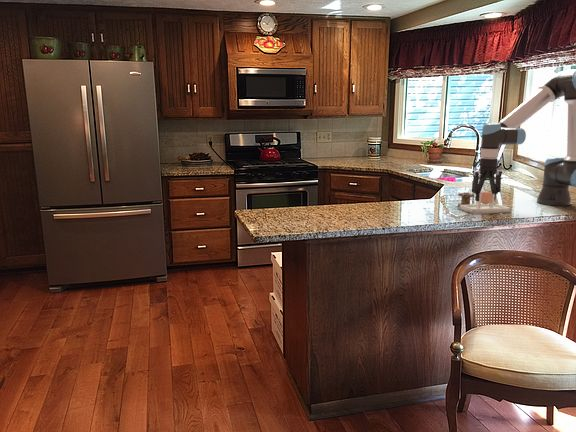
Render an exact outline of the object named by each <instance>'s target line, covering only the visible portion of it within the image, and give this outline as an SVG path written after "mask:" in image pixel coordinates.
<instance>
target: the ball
mask: <svg viewBox="0 0 576 432" xmlns="http://www.w3.org/2000/svg"><path fill="white" fill-rule="evenodd" d="M491 193H492V192H490V191H485V190H484V191H481V193H480V194H481V195H482V197H481V204H489V203H490V202H491V201H492V195H491Z"/></svg>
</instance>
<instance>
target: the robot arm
mask: <svg viewBox="0 0 576 432" xmlns="http://www.w3.org/2000/svg"><path fill="white" fill-rule="evenodd" d="M561 97H564V98H563V99H564V102H566V104H567V136H566V137H567V144H566V145H567V146H566V147H567V148H566V155H565V157H549V158H547V159H546V160H545V161H544V165H543V167H544V169H543V176H542V177H543V179H542V187H541V189H540V191H539V195H538V196H537V198H536V203H538V204H542V205H547V206H554V207H555V206H557V207H558V206H559V207H560V206H561V207H562V206H563V207H565V206H571V204H572V199H571V195H570V189H569V187H570V186H571V187H573V188H576V68H574V69H566V70H562V71H560V72H558V73H556V74H554V75H553V76H552V77H550V78H549V79H548V80H546V81H545V82H543V83H542V84H541V85H539V86H538V90H537V91H536V92H534V93H533V94H532V95H531V96H530V97H528V98H527V99H526V100H524V101H523V102H522V103H521V104H520V105H519V106H517V107H516V108H515V109H514V110H512V111H511V112H510V113H509V114H508V115H506V116H505V117H503V118H502V119H501V120H500V121H499V122H498V123H484V124H483V126H482V131H481V144H480V154H479V155H480V159H479V169H478V170H476V171H475V170H474V171H473V172H472V176H473V178H472V184H471V185H472V186H471V193H472V194H474V200H475V201H476V202H475V201H474V202H475V204H476V208H481V204H482V203H481V197H482V195H481V194H480V193H482V190H483V187H484V184H485V181H486V180H487V179H488V182H489V187H490V191H491V192H490V193H491V195H492V201H491V202H490V203H489V207H490V208H494V203H495V201H496V199H497V195H498V193H501V191H502V190H501V186H502V185H501V184H502V175H503V171H502V170H498V169H497V167H498V161H499V160H498V157H499V150H500V149H499V148H500V145H501V146H502V145H503V146H505V145H506V146H508V145H511V146H518V145H522V144H524V142H525V141H526V140H527V139H526V137H527V134H526V133H527V132H526V130H525V129H524V128H521V127H520V126H521V125H522V124H524V123H525V122H526V121H528V119H529V118H531V117H532V116H533V115H535V114H537V112H539V111H540V110H541V109H543V107H545V106H546V105H547V104H549V103H552V102H555V101H556V100H557V99H559V98H561Z"/></svg>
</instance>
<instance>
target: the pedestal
mask: <svg viewBox="0 0 576 432" xmlns="http://www.w3.org/2000/svg"><path fill="white" fill-rule="evenodd" d="M457 196H459V197H461V199H460V200H461V201H460V203H459V202H458V203H457V207H459V205H466V204H471V198H475V193H472V192H458V195H457Z"/></svg>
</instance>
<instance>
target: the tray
mask: <svg viewBox="0 0 576 432" xmlns="http://www.w3.org/2000/svg"><path fill="white" fill-rule="evenodd" d="M458 209H459V210H461V211H464V212H465V213H469V214H473V215H478V214H479V215H480V214H481V215H482V214H500V213H503V214H504V213H505V214H506V213H511V212H512V208H511V207H509V206H507V205H506V206H505V205H502V204H498V203H495V202H494V208H490V207H489V204H482V203H481V208H476V203H473V204H472V203H470V204H466V205H459V206H458Z"/></svg>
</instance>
